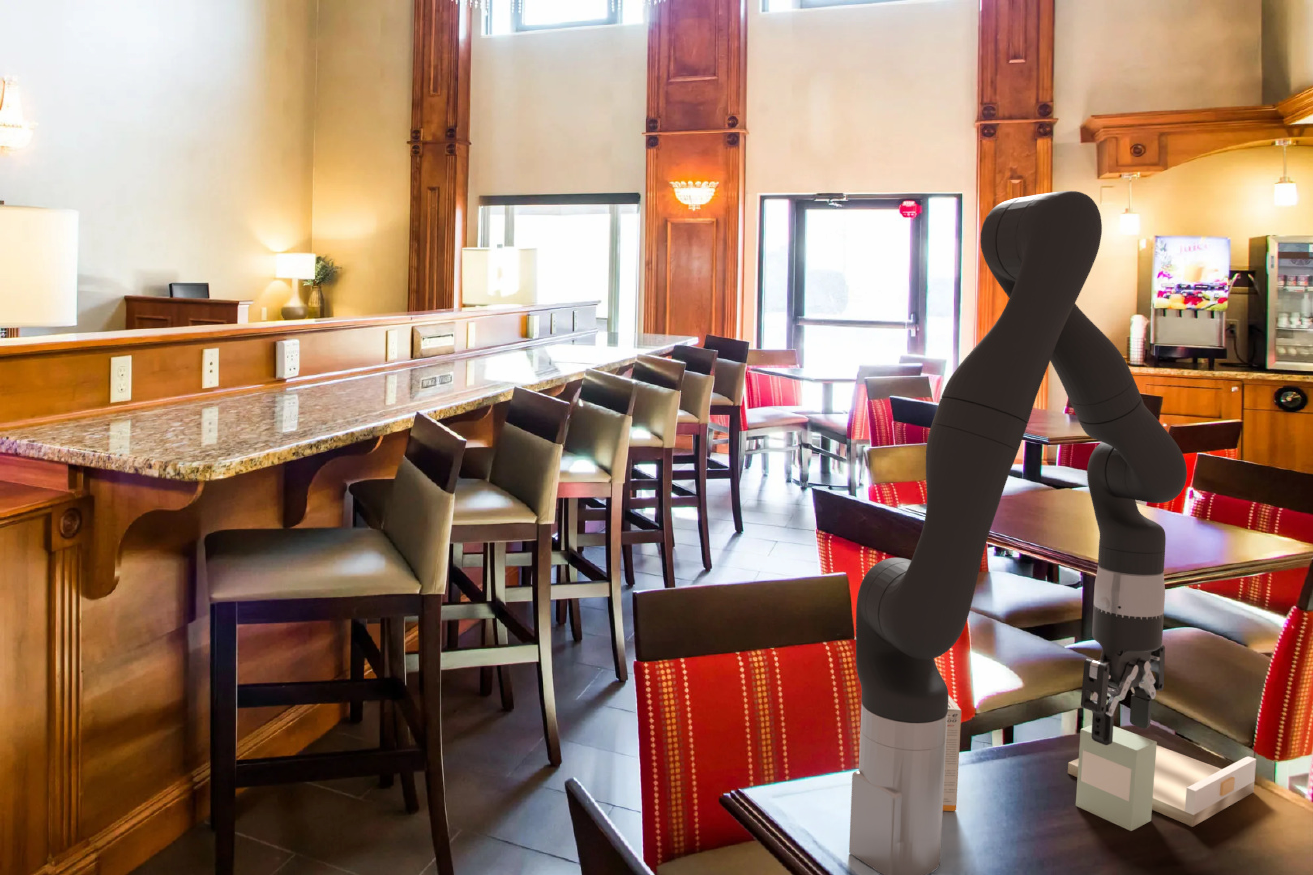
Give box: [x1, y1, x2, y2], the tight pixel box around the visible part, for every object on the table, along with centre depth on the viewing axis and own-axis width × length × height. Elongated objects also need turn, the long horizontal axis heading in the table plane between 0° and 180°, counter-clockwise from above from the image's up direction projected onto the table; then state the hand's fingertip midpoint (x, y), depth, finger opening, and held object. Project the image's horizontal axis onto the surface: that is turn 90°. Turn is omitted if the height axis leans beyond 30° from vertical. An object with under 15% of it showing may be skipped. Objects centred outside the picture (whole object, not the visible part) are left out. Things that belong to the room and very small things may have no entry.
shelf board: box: [1067, 744, 1257, 828], centre depth 117 cm, size 16×16×4 cm
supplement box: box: [943, 694, 962, 812], centre depth 113 cm, size 8×5×13 cm, turn 179°
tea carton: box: [1075, 724, 1158, 832], centre depth 109 cm, size 5×7×10 cm, turn 34°
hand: (1121, 734), depth 109 cm, fingers open, 8 cm apart
